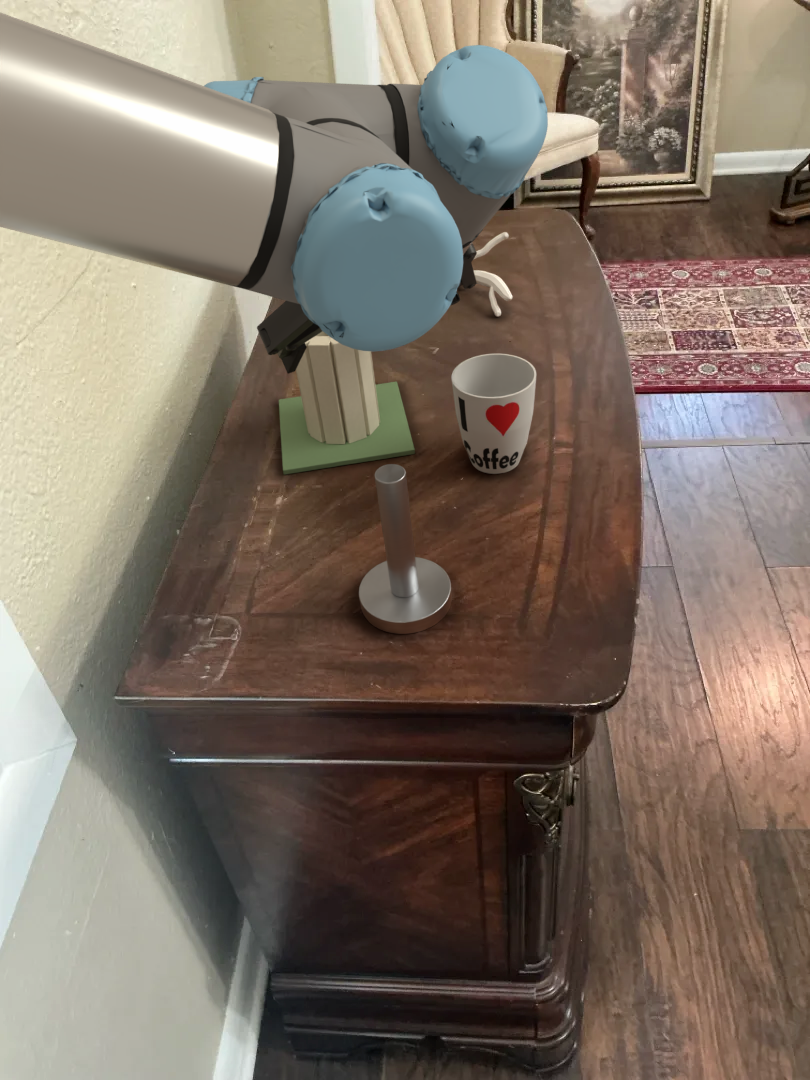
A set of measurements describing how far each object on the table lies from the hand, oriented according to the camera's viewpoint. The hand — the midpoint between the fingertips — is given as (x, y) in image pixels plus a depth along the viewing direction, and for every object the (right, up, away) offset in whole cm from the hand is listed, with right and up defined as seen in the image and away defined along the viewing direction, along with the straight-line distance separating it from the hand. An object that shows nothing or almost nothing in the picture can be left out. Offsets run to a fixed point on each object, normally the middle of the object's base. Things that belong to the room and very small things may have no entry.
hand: (351, 337), depth 82 cm
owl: (+7, +13, +36) cm, 39 cm away
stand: (+5, -24, -7) cm, 26 cm away
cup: (+15, -11, +8) cm, 20 cm away
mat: (-2, -7, +14) cm, 16 cm away
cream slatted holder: (-2, -6, +14) cm, 15 cm away
